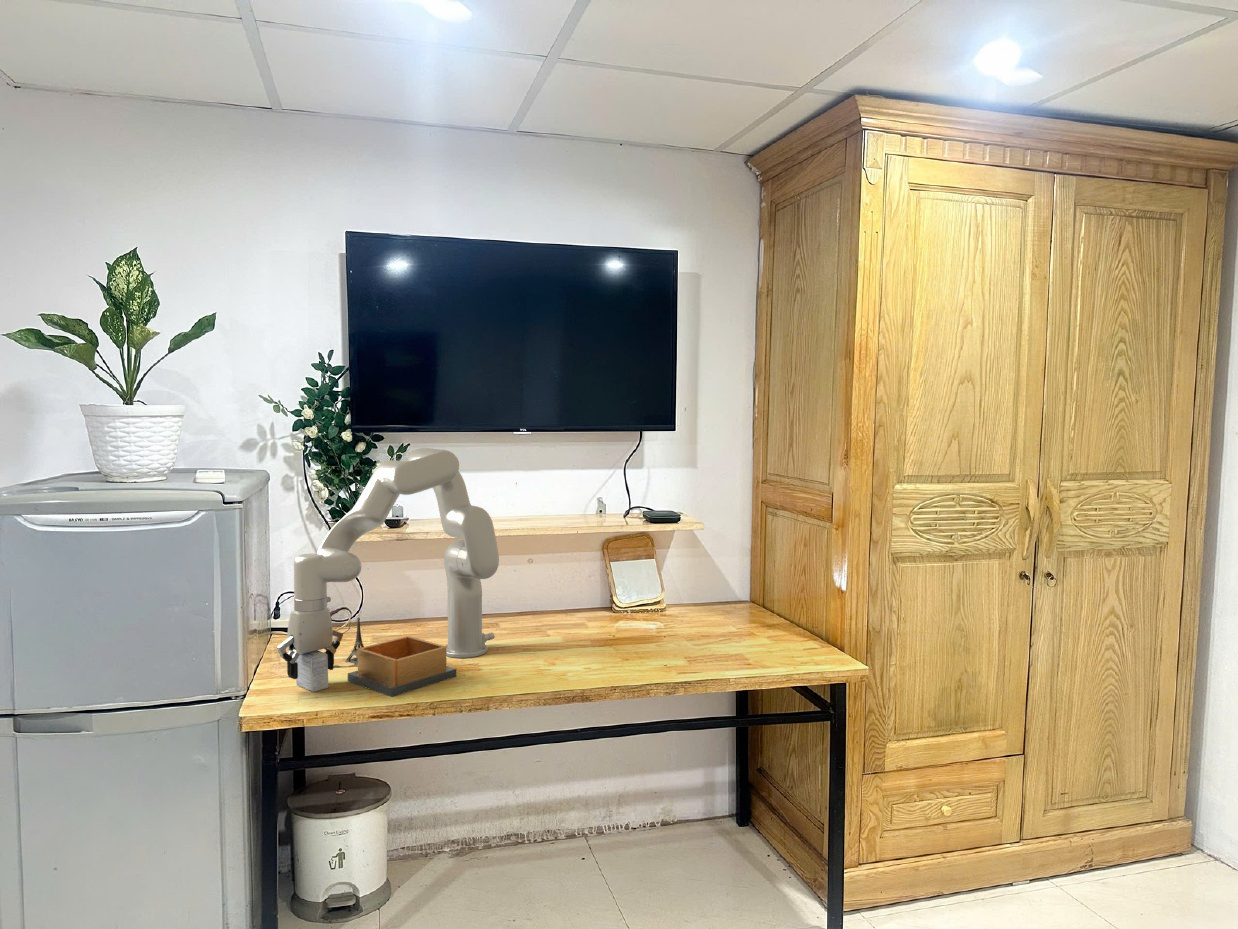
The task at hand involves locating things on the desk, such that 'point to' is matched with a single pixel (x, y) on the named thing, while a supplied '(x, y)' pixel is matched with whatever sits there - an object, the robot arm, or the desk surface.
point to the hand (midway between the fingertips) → (311, 673)
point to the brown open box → (401, 666)
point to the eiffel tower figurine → (354, 651)
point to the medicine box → (312, 671)
